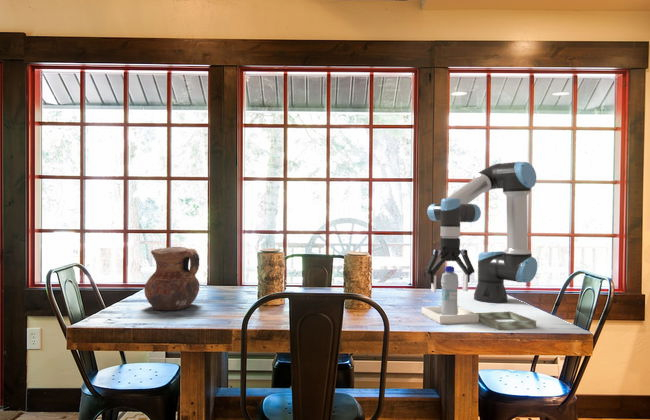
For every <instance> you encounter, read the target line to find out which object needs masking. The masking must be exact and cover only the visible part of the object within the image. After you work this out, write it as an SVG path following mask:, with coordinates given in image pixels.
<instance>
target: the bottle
mask: <svg viewBox="0 0 650 420" xmlns="http://www.w3.org/2000/svg"><path fill="white" fill-rule="evenodd" d="M444 271H445V272H444V273H442V274H441V280H440V283H441V284H440V286H441V305H440V306H441V314H442V315H457V314H458V306H459V305H458V287H459V283H460V281H459V276H458V274H456V273H455V267H454V266H452V265H448V266H445V270H444Z"/></svg>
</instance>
